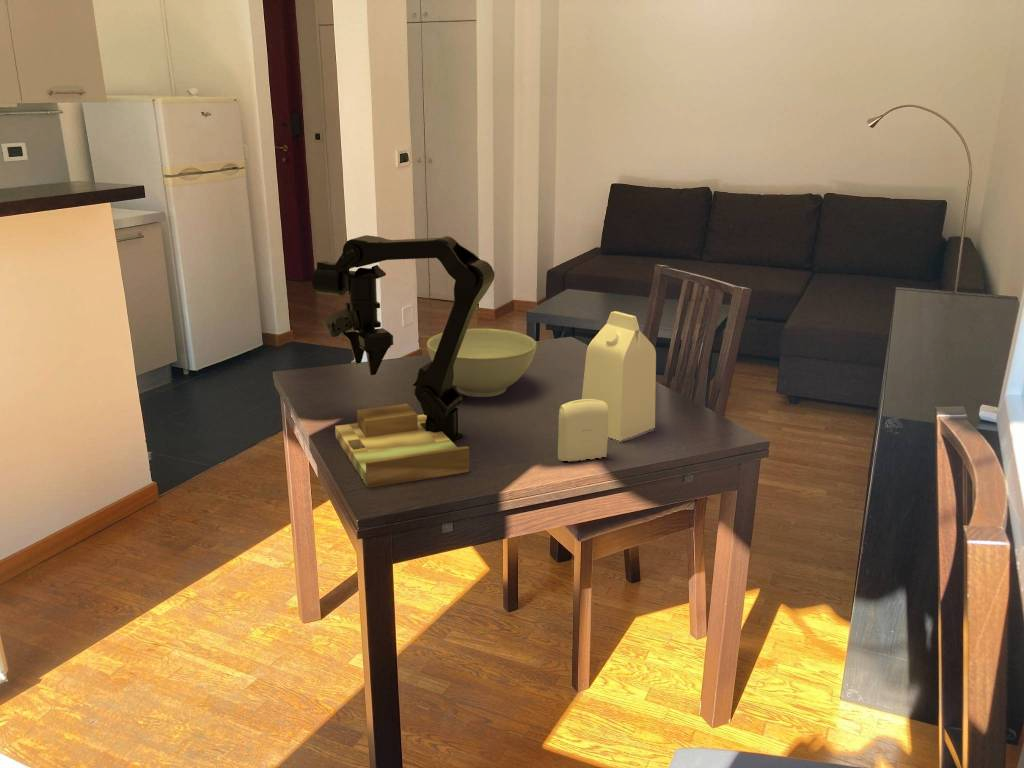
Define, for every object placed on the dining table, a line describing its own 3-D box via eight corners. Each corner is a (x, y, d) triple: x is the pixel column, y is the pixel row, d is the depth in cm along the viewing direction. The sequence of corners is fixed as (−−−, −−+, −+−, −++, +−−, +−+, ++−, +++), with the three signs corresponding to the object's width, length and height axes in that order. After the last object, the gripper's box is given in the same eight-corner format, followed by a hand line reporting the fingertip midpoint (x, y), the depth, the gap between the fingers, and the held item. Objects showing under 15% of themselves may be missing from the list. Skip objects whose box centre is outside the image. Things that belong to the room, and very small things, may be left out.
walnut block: (357, 425, 182) (357, 410, 181) (407, 418, 186) (407, 403, 185) (366, 437, 176) (365, 421, 175) (417, 430, 180) (417, 414, 179)
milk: (654, 430, 189) (663, 315, 181) (619, 443, 182) (626, 324, 173) (614, 415, 197) (620, 305, 189) (578, 427, 190) (583, 312, 182)
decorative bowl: (535, 373, 226) (536, 329, 222) (535, 408, 201) (537, 359, 197) (433, 371, 227) (432, 327, 223) (421, 406, 201) (420, 356, 197)
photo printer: (560, 464, 171) (563, 405, 167) (554, 455, 175) (556, 398, 171) (609, 459, 173) (613, 401, 169) (602, 451, 177) (605, 394, 173)
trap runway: (335, 436, 182) (334, 414, 181) (425, 424, 190) (425, 403, 188) (367, 488, 159) (367, 463, 157) (469, 471, 167) (469, 447, 165)
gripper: (311, 292, 183) (315, 362, 188) (339, 311, 168) (343, 386, 173) (361, 287, 188) (364, 355, 193) (393, 305, 173) (395, 379, 178)
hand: (365, 368), depth 184 cm, fingers open, 9 cm apart
